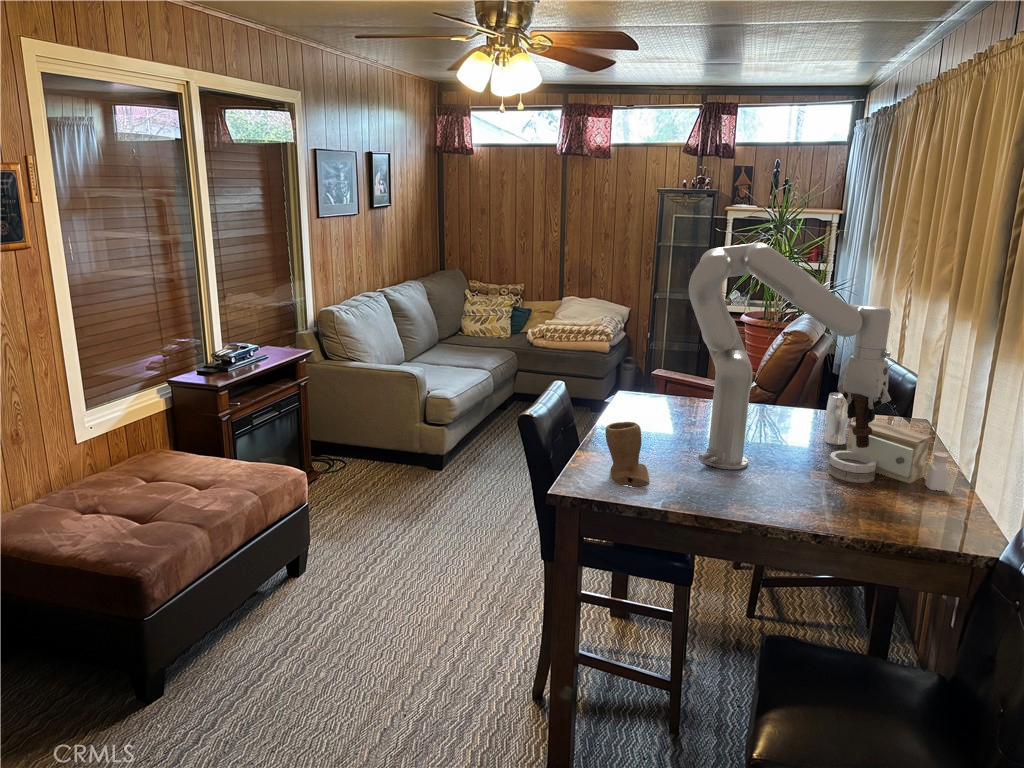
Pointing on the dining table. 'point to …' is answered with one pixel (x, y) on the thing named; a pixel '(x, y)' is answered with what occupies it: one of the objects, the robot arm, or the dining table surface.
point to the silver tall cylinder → (836, 419)
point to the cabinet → (896, 436)
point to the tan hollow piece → (626, 454)
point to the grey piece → (875, 457)
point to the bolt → (861, 421)
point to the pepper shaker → (938, 473)
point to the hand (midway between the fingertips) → (860, 419)
